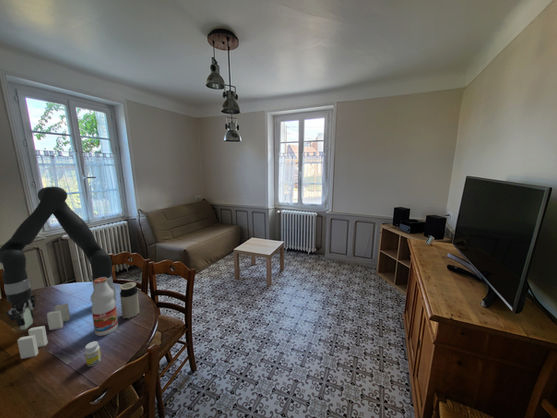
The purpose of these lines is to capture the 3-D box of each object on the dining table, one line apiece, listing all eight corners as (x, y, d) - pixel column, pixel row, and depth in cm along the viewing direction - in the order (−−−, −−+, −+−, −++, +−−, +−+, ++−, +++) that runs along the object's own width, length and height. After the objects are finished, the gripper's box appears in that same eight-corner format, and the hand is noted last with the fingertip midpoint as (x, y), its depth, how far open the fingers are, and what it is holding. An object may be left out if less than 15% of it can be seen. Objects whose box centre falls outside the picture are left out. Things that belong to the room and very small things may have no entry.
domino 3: (34, 345, 100) (31, 328, 98) (47, 342, 101) (44, 325, 100) (31, 348, 98) (28, 330, 97) (45, 345, 100) (41, 328, 98)
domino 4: (51, 327, 111) (49, 312, 110) (63, 325, 113) (60, 310, 111) (49, 330, 109) (46, 314, 108) (61, 328, 111) (58, 312, 109)
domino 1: (33, 322, 106) (29, 306, 104) (25, 329, 102) (21, 312, 100) (28, 323, 105) (24, 306, 104) (20, 330, 101) (16, 313, 99)
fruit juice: (120, 321, 117) (114, 273, 112) (115, 333, 108) (109, 281, 104) (98, 326, 113) (91, 276, 108) (92, 338, 104) (84, 285, 100)
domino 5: (59, 320, 117) (56, 305, 115) (70, 318, 118) (67, 303, 117) (57, 322, 115) (54, 307, 113) (68, 320, 116) (65, 305, 115)
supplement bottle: (92, 357, 94) (90, 340, 93) (104, 356, 94) (101, 340, 93) (83, 367, 89) (81, 349, 88) (95, 366, 90) (93, 348, 88)
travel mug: (126, 321, 117) (123, 290, 114) (120, 315, 121) (116, 286, 118) (142, 313, 124) (139, 284, 121) (135, 308, 128) (132, 280, 125)
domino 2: (24, 355, 94) (20, 337, 93) (38, 352, 96) (35, 334, 94) (21, 358, 93) (17, 340, 91) (35, 356, 94) (32, 337, 93)
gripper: (16, 296, 95) (25, 330, 98) (39, 280, 108) (46, 310, 111) (-7, 299, 92) (2, 334, 95) (19, 283, 105) (27, 314, 109)
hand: (26, 321), depth 103 cm, fingers closed on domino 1, 4 cm apart
